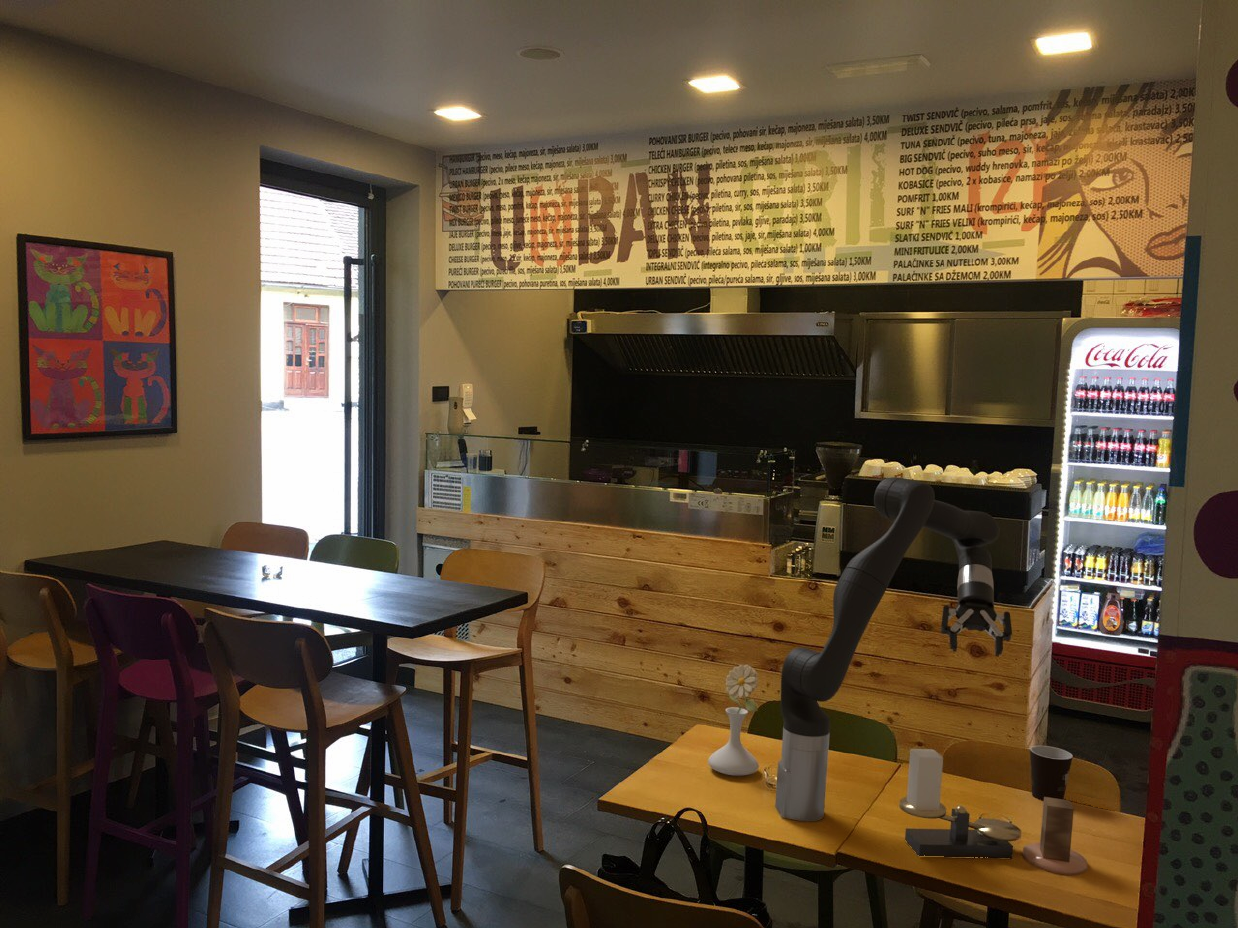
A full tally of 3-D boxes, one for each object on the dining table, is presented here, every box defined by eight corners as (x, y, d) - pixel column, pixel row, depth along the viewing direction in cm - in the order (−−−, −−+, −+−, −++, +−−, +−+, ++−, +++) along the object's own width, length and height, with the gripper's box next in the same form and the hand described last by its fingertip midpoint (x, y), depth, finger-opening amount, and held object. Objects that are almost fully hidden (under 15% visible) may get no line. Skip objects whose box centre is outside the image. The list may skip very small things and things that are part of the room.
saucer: (1041, 874, 181) (1041, 868, 181) (1012, 847, 192) (1012, 842, 192) (1099, 874, 182) (1099, 869, 182) (1066, 848, 193) (1067, 843, 193)
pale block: (915, 809, 186) (919, 756, 185) (906, 800, 190) (910, 748, 190) (939, 810, 186) (943, 757, 186) (929, 800, 191) (933, 749, 190)
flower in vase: (698, 764, 228) (704, 656, 226) (741, 759, 232) (747, 653, 231) (728, 785, 216) (735, 671, 214) (772, 780, 221) (779, 668, 219)
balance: (906, 858, 184) (909, 813, 184) (889, 839, 193) (893, 795, 192) (1027, 860, 186) (1031, 816, 186) (1006, 841, 195) (1009, 798, 194)
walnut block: (1043, 858, 186) (1047, 805, 185) (1039, 848, 190) (1044, 796, 189) (1069, 862, 184) (1073, 809, 184) (1065, 852, 189) (1069, 800, 188)
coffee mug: (1050, 806, 214) (1054, 761, 213) (1017, 792, 222) (1021, 747, 221) (1086, 799, 219) (1090, 755, 219) (1053, 785, 227) (1057, 742, 226)
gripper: (943, 576, 221) (942, 638, 210) (1012, 582, 217) (1014, 646, 207) (940, 596, 226) (939, 657, 216) (1007, 602, 223) (1009, 665, 212)
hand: (976, 652), depth 211 cm, fingers open, 8 cm apart
